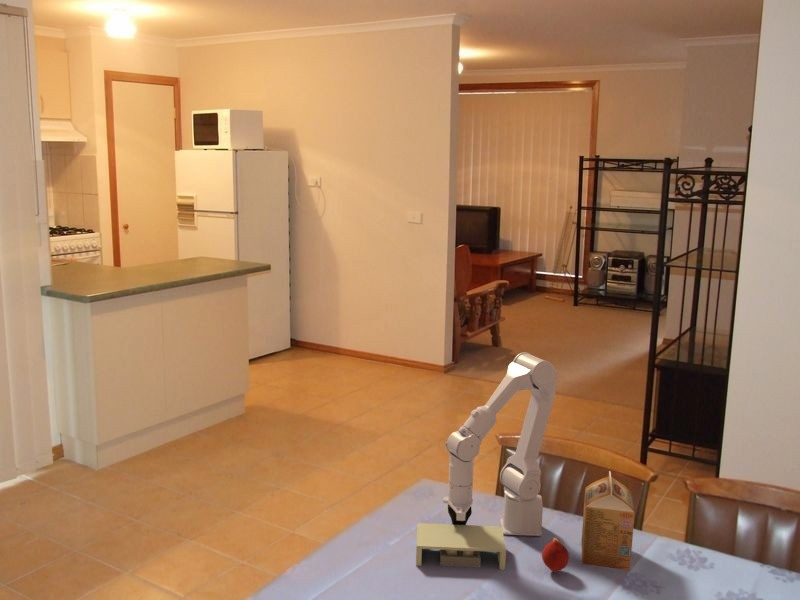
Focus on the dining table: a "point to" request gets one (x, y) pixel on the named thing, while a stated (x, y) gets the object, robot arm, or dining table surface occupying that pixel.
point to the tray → (460, 558)
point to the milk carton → (607, 525)
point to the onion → (555, 556)
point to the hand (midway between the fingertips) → (458, 535)
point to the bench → (461, 539)
